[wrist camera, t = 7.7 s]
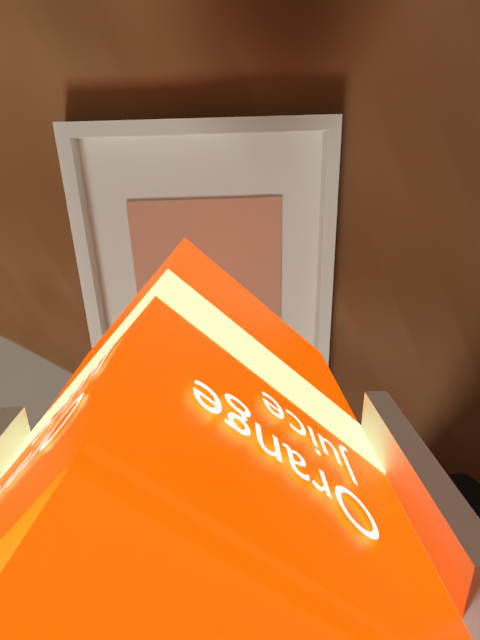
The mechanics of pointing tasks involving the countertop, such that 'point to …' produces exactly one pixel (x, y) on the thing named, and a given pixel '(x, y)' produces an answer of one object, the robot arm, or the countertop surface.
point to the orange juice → (208, 489)
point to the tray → (206, 208)
